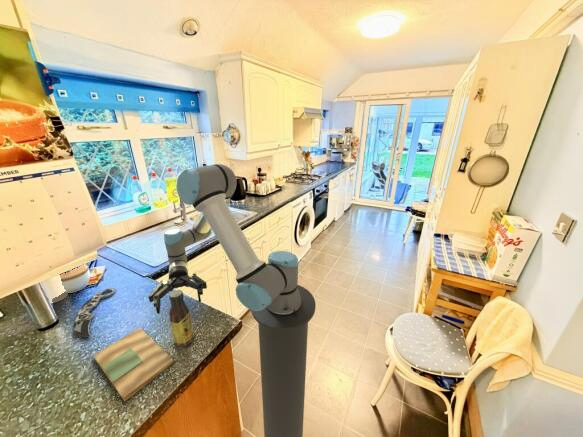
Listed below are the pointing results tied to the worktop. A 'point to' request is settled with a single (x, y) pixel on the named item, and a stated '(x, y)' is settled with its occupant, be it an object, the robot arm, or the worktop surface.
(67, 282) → the lidded bowl
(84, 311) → the knife
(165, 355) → the chopping board
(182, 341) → the sauce bottle
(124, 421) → the worktop surface
